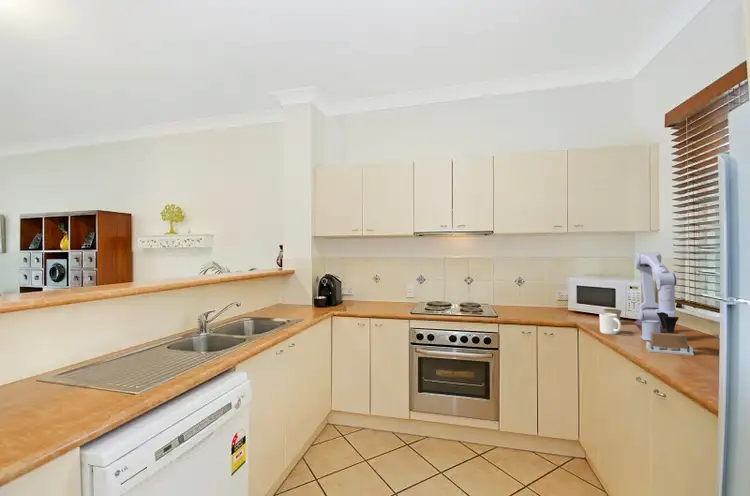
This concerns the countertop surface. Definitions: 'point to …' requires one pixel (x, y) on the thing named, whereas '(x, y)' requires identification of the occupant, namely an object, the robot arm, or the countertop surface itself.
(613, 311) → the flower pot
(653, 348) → the display stand
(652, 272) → the robot arm
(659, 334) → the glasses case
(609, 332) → the mug
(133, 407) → the countertop surface
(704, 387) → the countertop surface
